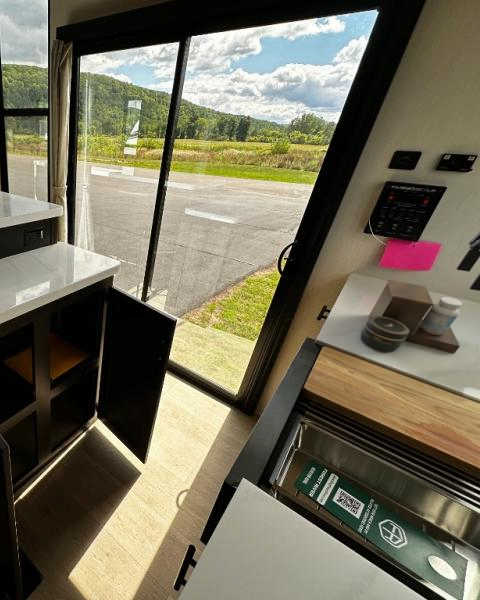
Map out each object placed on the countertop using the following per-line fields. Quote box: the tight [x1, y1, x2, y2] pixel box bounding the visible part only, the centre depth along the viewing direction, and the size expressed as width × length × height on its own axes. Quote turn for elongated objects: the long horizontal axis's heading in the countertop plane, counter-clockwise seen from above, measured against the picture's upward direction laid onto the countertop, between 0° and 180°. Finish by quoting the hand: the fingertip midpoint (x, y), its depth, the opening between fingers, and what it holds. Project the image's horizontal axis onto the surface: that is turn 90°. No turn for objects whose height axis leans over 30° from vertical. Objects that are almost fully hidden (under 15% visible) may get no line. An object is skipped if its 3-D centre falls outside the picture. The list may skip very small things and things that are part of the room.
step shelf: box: [368, 279, 461, 354], centre depth 103 cm, size 20×12×15 cm, turn 56°
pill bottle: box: [419, 296, 463, 335], centre depth 100 cm, size 6×6×11 cm
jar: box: [359, 316, 409, 353], centre depth 101 cm, size 10×10×8 cm
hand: (469, 279), depth 93 cm, fingers open, 13 cm apart
